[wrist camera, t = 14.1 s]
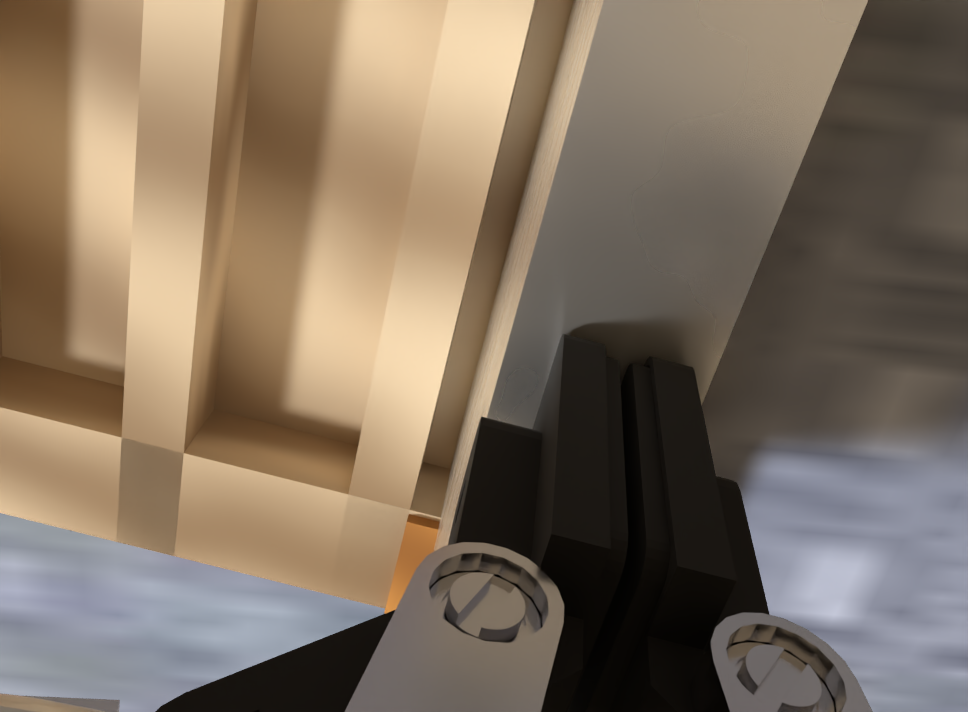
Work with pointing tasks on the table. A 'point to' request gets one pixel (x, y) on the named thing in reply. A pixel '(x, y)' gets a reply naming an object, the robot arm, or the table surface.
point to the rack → (256, 268)
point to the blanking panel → (652, 189)
